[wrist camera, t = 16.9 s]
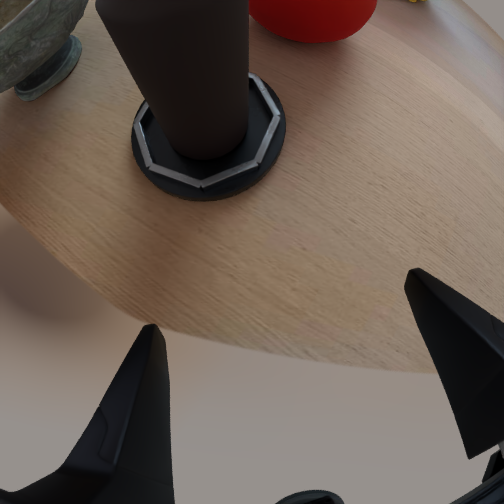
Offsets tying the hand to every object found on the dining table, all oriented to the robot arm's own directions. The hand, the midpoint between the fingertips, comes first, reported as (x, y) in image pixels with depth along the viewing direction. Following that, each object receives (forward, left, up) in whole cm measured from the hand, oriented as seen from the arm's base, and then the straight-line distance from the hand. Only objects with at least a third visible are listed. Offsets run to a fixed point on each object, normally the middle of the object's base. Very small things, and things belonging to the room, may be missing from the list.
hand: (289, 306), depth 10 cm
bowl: (+33, +13, -14) cm, 38 cm away
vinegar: (+14, -1, -12) cm, 19 cm away
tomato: (+24, -15, -14) cm, 31 cm away
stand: (+14, -1, -13) cm, 20 cm away
